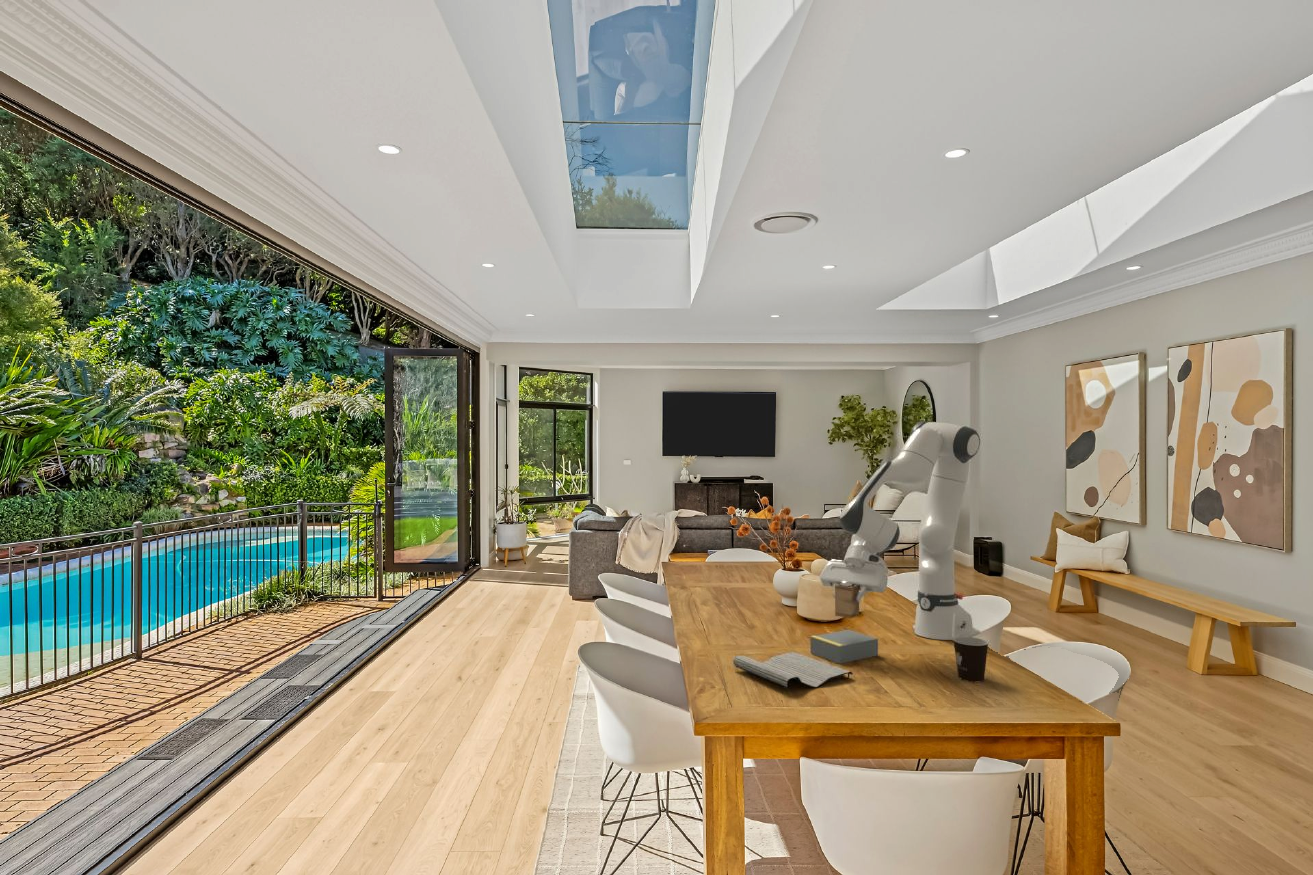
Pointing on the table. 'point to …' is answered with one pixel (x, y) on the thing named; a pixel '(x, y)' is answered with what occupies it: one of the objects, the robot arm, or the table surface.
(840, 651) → the block
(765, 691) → the table surface
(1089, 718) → the table surface
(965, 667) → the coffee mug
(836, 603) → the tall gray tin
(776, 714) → the table surface
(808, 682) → the mat
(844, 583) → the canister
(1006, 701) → the table surface
